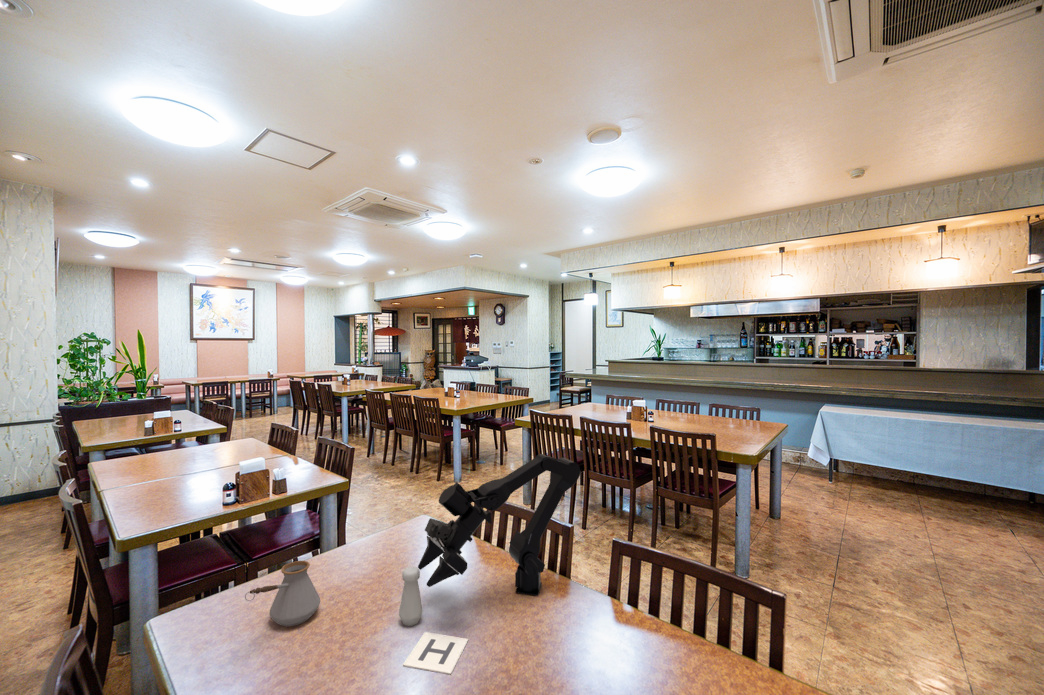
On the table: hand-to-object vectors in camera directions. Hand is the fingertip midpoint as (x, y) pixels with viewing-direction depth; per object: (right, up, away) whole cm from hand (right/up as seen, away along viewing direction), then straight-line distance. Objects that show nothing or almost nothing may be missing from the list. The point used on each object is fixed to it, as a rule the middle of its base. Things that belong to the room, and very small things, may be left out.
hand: (423, 576), depth 110 cm
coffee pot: (-33, -10, -5) cm, 35 cm away
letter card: (+6, -10, -13) cm, 17 cm away
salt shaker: (-3, -11, -1) cm, 11 cm away
